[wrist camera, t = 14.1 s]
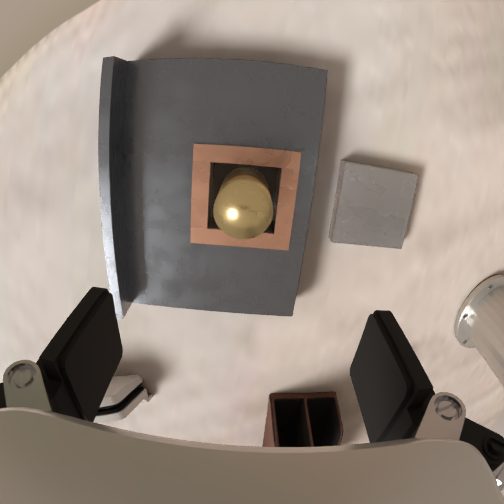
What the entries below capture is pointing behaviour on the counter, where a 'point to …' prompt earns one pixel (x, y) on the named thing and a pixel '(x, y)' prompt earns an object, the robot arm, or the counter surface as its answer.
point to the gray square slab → (372, 205)
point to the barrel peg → (243, 204)
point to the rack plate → (204, 179)
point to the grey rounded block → (121, 398)
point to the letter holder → (303, 420)
